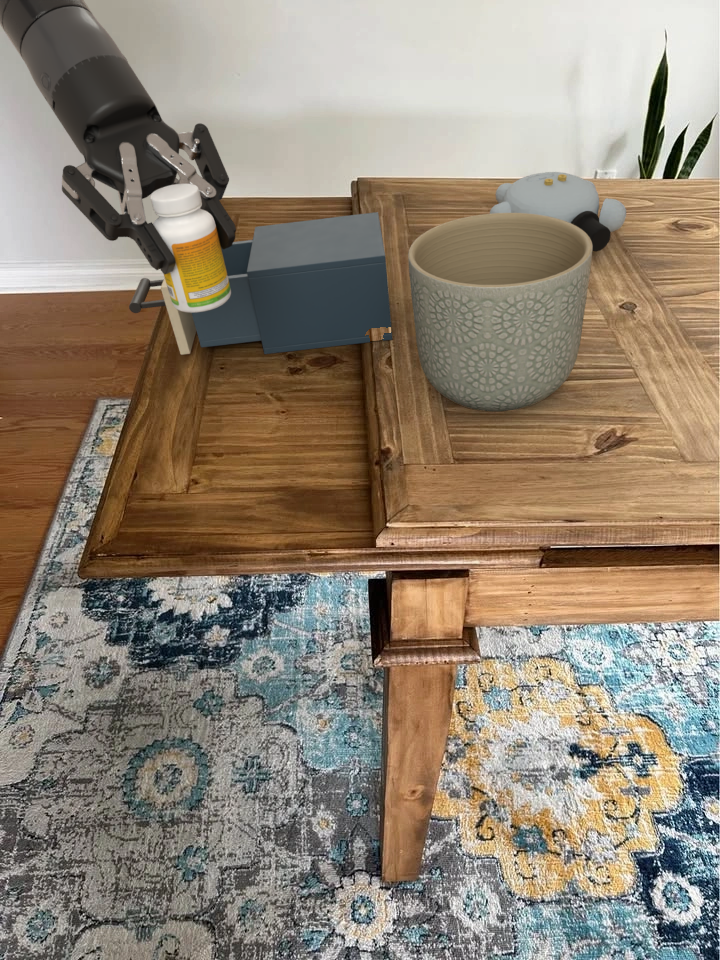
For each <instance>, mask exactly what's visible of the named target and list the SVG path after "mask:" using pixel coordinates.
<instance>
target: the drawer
mask: <svg viewBox="0 0 720 960" xmlns="http://www.w3.org/2000/svg"><path fill="white" fill-rule="evenodd" d="M252 241H253V239H247V240H239V241H234V242H233V244H232V246H231V247H229V248H226V249H222V248H221V250H222V254H223V259H224V263H225V267H226V271H227V276H228V280H229V284H230V289H231V295H230V298H229V299H228V300H227V301H226V302H225V303H224V304H223V305H221V306H219V307H217V308H215V309H212V310H208V311H203V312H195V313H190V312H182V311H179V310H178V309H176V308H175V307H174V306H173V304H172V301H171V298H170V295H169V291H168V288H167V284H166V281H165V277H163V279H155V280H150V278H147V277H143V278H141V279H140V280H139V283H138V284H137V287H136V290H135V292H134V294H133V296H132V298H131V300H130V303H129V306H128V307H129V308H128V309H129V311H130V312H131V313H133V314H139V313H141V311H142V309H150V308H151V309H152V308H159V307H166V310H167V313H168V317H169V321H170V323H171V327H172V330H173V334H174V337H175V341H176V344H177V347H178V350H179V354H180V355H181V356H183V355H190V354H191V351H192V349H193V346H194V345H193V344H194V340H195V337H196V334H197V338H198V341H199V345H200V348H208V347H209V348H210V347H217V346H226V345H235V344H242V343H252V342H259V341H260V342H262V340H261V336H260V331H259V327H258V322H257V317H256V313H255V308H254V303H253V299H252V294H251V290H250V285H249V280H248V276H247V268H248V263H249V257H250V252H251V247H252ZM155 287H160V290H161V293H162V297H163V299H158V300H150V301H149V300H148V301H146V299H147V296H148V294H149V293H150V289H151V288H155Z"/></svg>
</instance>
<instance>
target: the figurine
mask: <svg viewBox="0 0 720 960" xmlns="http://www.w3.org/2000/svg"><path fill="white" fill-rule="evenodd" d="M495 200H496V201H497V204H494V205H493V206H492V207H491V208H490V210H489V214H492V213H528V214H537V215H544V216H549V217H553V218H557V219H560V220H564V221H566V222H569V223H571V224H573V225H575V226H577V227H579V228H580V229H582V230H583V231H584V232H585V233H586V234H587V235H588V236H589V237H590V239H591V241H592V245H593V249H592V252H599V251H601V250H603V249H605V248H606V246H607V245H608V244H609V242H610V241H611V235H612V234H611V233H613V232H616V231H618V230H619V229H621V228H622V227H623V225H624V223H625V221H626V218H627V208H626V207H625V205H624V204H623V203H622V201H620V200H618V199H615V198H609V197H608V198H605V199H604V200H603V202H602V204H601V208H600V196H599V192H598V191H597V188H596V185H595V184H594V182H593V181H590V180H588V179H584V178H582V177H580V176H577V175H575V174H571V173H566V172H561V171H545V172H538V173H533V174H529V175H526V176H523V177H521V178H519V179H517V180H516V181H514V182H512V183H510V182H505V183H502V184H500V185H498V187H497V189H496V190H495ZM599 209H600V210H599ZM599 211H600V212H599Z"/></svg>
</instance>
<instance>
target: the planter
mask: <svg viewBox="0 0 720 960" xmlns="http://www.w3.org/2000/svg"><path fill="white" fill-rule="evenodd" d="M592 249H593V245H592V241H591V239H590V237H589V236H588V235H587V234H586V233H585V232H584V231H583V230H582V229H580V228H579V227H577V226H575V225H573V224H571V223H569V222H566V221H564V220H560V219H557V218H553V217H549V216H544V215H537V214H528V213H492V214H490V213H484V214H483V213H482V214H475V215H471V216H465V217H460V218H457V219H452V220H450V221H446V222H443V223H441V224H439V225H437V226H434V227H432V228H430V229H428V230H427V231H425V232H423V233H422V234H421V235H419V236H418V237H417V238H415V240H414V241H412V243H411V245H410V246H409V249H408V253H407V254H408V255H407V257H408V259H407V261H408V274H409V275H408V276H409V284H410V285H409V286H410V295H411V304H412V311H413V312H412V313H413V321H414V332H415V343H416V349H417V354H418V355H417V356H418V361H419V365H420V368H421V370H422V372H423V375H424V376H425V378H426V379H427V381H428V382H429V384H430V385H431V386H432V387H433V389H435V390H436V391H437V392H438V393H439V394H441V395H442V396H443V397H445V398H446V399H448V400H449V401H451V402H453V403H455V404H457V405H459V406H461V407H464V408H467V409H472V410H475V411H480V412H481V411H482V412H490V413H491V412H492V413H493V412H494V413H501V412H511V411H517V410H521V409H523V408H524V409H525V408H527V407H530V406H533V405H535V404H537V403H539V402H541V401H543V400H545V399H546V398H548V397H550V396H551V395H552V394H554V393H555V392H556V391H557V390H559V389H560V388H561V387H562V386H563V385H564V384H565V382H566V381H567V380H568V378H569V377H570V375H571V373H572V372H573V370H574V367H575V366H576V362H577V359H578V354H579V350H580V345H581V340H582V333H583V325H584V318H585V311H586V305H587V298H588V292H589V284H590V275H591V268H592V261H593V259H592V258H593V251H592Z"/></svg>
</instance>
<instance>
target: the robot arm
mask: <svg viewBox="0 0 720 960" xmlns="http://www.w3.org/2000/svg"><path fill="white" fill-rule="evenodd" d="M0 27H1V29H2V30H3V31H4V32H5V34H6V37H8V40H10V42H11V43H12V45H13V47H14V49H15V50H16V51H17V53H18V54H19V56H20V58H21V59H22V60H23V62H24V64H25V66H26V67H27V69H28V71H29V74H30V76H31V79H32V80H33V82H34V84H35V86H36V87H37V89H38V90H39V92H40V93H41V95H42V96H43V98H44V100H45V101H46V102H47V104H48V106H49V107H50V109H51V110H52V112H53V114H54V115H55V116H56V118H57V120H58V122H59V123H60V124H61V126H62V127H63V129H64V130H65V133H67V134H68V136H69V138H70V140H71V141H72V143H73V144H74V146H75V147H76V148H77V150H78V151H79V153H80V154H81V155H82V156H83V159H84V162H83V163H81V164H80V165H78V166H74V165H71V164H68V165H64V167H63V169H62V175H61V191H62V193H63V195H65V196H66V198H68V199H69V200H70V202H71V203H72V204H73V205H74V206H75V207H76V208H77V209H78V210H79V211H80V213H82V214H83V216H84V217H85V218H86V219H87V220H88V221H89V222H90V223H91V225H93V227H95V229H97V230H98V232H99V233H101V235H102V236H103V237H104V238H105V239H106V240H108V241H111V242H113V241H117V240H118V239H119V238H130V239H131V240H133V241H134V242H135V243H136V246H137V247H138V248H139V250H140V252H141V253H142V255H143V256H144V257H145V259H146V261H147V263H149V265H150V266H151V267H152V268H153V269H154V270H156V271H159V270H160V271H161V273H162V274H163V275H164V274H167V273H170V272H172V271H173V269H174V267H175V264H176V261H175V258H174V256H173V254H172V253H171V251H170V250H169V248H168V247H167V245H166V243H165V242H164V240H163V239H162V237H161V236H160V234H159V233H158V231H157V230H156V228H155V227H154V225H153V222H152V221H151V222H148V221H147V219H146V213H145V207H144V203H143V199H147V198H148V197H149V196H151V194H152V193H153V192H154V191H156V190H158V189H160V188H163V187H166V186H170V185H175V184H193V185H196V186H197V187H198V189H199V192H200V196H201V200H202V206H201V207H200V209H202V210H205V211H207V212H209V213H210V214H211V215H212V217H213V218H214V221H215V224H216V228H217V233H218V237H219V242H220V246H221V248H222V249H226V248H229V247H231V246H232V244H233V242H235V239H236V234H235V233H236V232H237V228H236V224H235V222H234V221H233V220H232V218H231V217H230V214H229V213H228V212H227V210H226V209H225V207H224V205H223V204H222V203H221V201H220V200H222V199H223V196H224V195H225V192H226V190H227V187H228V184H229V182H230V177H229V174H228V172H227V171H226V168H225V165H224V163H223V160H222V159H221V156H220V154H219V150H218V149H217V147H216V145H215V142H214V140H213V138H212V135H211V133H210V130H209V128H208V127H207V126H206V125H205V124H204V123H200V122H199V123H196V124H195V125H194V128H193V130H191V131H182V132H181V131H180V132H177V130H175V129H174V128H172V127H171V126H170V125H169V124H167V123H166V122H165V121H164V120H163V119H162V116H161V114H160V112H159V110H158V107H157V105H156V104H155V102H154V101H153V99H152V98H151V96H150V94H149V93H148V91H147V89H146V88H145V87H144V85H143V83H142V82H141V80H140V79H139V78H138V76H137V74H136V73H135V71H134V69H133V68H132V67H131V64H130V63H129V61H128V59H127V58H126V57H125V55H124V54H123V53H122V51H121V49H120V47H118V45H117V43H116V42H115V40H114V39H113V38H112V37H111V35H110V33H108V31H107V30H106V28H105V27H104V26H103V25H101V23H100V22H99V20H98V19H97V18H96V17H95V15H94V13H93V12H92V11H91V9H90V8H89V6H88V5H87V3H86V1H85V0H0ZM180 150H183V152H185V154H187V156H188V158H189V160H191V161H195V164H196V166H197V168H198V171H199V174H200V175H199V174H198V172H197V169H196V167H194V165H193V164H191V163H190V161H189V162H188V161H187V159H185V158H184V157H183V156H181V155H180ZM177 175H178V177H179V179H178V178H177ZM95 181H98V182H100V183H102V184H104V185H105V186H107V187H109V188H111V189H113V190H115V191H117V194H118V200H119V204H120V211H121V213H119V212H118V210H116V208H115V207H113V206H112V204H111V203H110V202H109V201H108V200H107V199H106V198H105V197H104V195H102V193H100V192H99V190H98V189H97V188H96V182H95Z"/></svg>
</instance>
